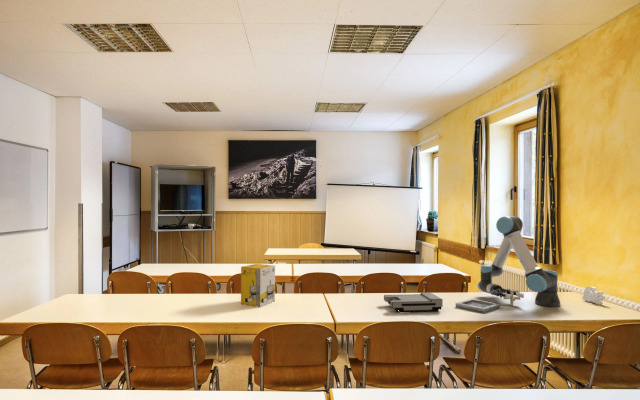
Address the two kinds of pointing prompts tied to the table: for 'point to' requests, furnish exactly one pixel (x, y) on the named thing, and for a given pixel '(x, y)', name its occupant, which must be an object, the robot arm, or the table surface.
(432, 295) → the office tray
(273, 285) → the packaging box
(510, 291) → the pipe connector
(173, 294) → the table surface
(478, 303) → the carrier plate
